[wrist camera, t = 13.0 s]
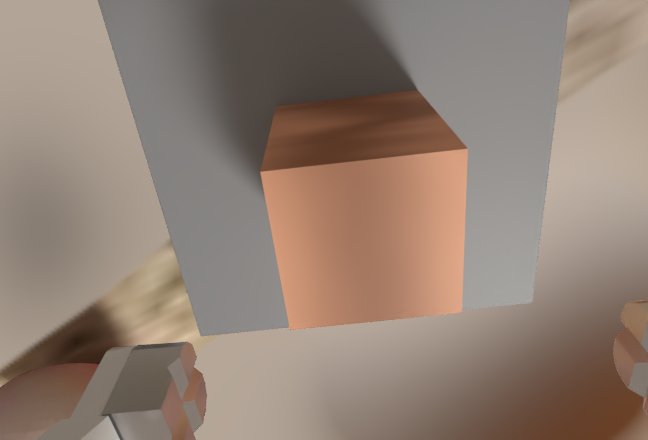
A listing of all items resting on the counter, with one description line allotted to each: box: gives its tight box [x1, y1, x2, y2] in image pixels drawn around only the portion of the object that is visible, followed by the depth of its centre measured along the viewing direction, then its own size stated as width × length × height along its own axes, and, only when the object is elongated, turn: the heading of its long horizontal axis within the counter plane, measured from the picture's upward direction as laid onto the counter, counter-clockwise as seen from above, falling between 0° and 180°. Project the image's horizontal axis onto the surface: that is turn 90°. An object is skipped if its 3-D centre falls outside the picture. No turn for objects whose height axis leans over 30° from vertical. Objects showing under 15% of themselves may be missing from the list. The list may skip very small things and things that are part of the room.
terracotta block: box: [260, 90, 468, 330], centre depth 15 cm, size 5×5×6 cm
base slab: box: [98, 0, 570, 336], centre depth 20 cm, size 15×15×4 cm
